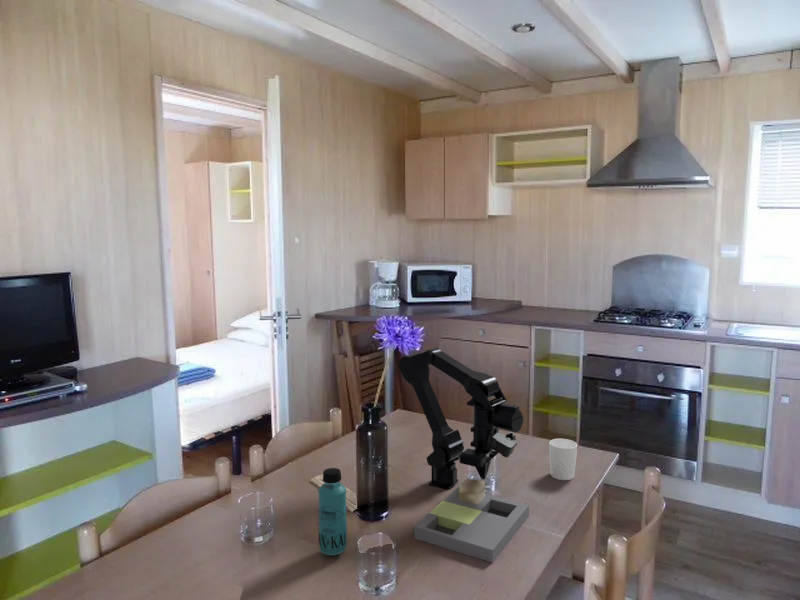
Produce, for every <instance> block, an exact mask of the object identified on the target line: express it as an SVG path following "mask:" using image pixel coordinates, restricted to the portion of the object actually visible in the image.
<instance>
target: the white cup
mask: <svg viewBox="0 0 800 600" xmlns="http://www.w3.org/2000/svg"><path fill="white" fill-rule="evenodd" d="M548 443H549V445H548V446H549V467H550V477H552V478H553V479H555V480H557V481H558V480H560V481H570V480H573V479H574V478H575V471H576V470H575V469H576V463H577V462H576V461H577V450H578V443H577V442H576V441H574V440H572V439H567V438H553V439H551V440H550V441H549V442H548Z"/></svg>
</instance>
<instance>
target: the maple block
mask: <svg viewBox="0 0 800 600" xmlns="http://www.w3.org/2000/svg"><path fill="white" fill-rule="evenodd" d="M485 494H486V482H485V481H480V480H477V479H473V478H469V477H468V478H466V479H465V480H464V481H462V482H461V483H460V484H459V500H461V501H465V502H469V503H473V504H478V503H479V502H480V501H481V500H482V499H483V498H484V497H485Z"/></svg>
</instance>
